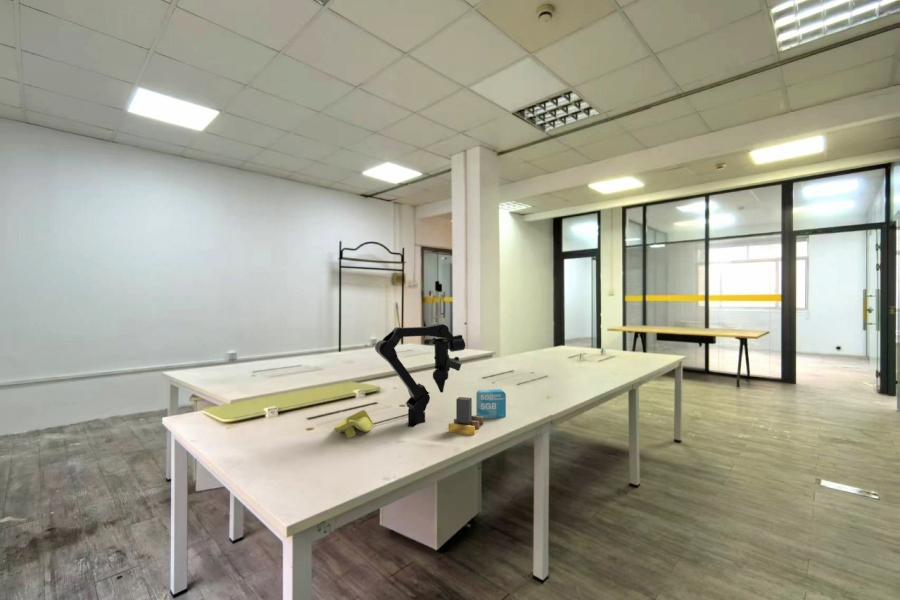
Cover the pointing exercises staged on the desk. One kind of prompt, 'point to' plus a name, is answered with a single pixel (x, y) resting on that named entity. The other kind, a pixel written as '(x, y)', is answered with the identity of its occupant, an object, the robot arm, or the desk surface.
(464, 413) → the block
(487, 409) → the data package
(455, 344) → the robot arm
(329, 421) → the desk surface
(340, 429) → the plastic component
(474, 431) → the rack
